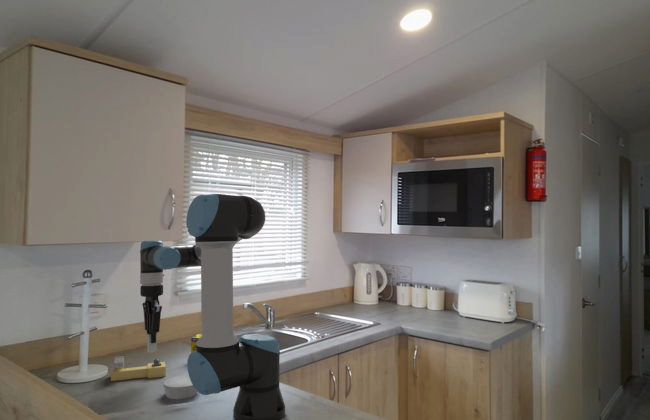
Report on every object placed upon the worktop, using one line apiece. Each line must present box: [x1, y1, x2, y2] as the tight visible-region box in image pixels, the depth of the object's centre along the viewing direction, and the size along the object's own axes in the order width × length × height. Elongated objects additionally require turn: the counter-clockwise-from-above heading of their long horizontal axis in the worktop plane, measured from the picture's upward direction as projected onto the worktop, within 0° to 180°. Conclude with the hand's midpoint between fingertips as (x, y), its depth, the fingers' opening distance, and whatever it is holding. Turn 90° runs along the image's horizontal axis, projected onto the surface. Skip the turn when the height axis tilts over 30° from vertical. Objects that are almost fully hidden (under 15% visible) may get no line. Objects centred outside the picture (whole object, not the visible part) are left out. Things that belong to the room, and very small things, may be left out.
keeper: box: [113, 355, 125, 370], centre depth 163 cm, size 8×3×7 cm, turn 22°
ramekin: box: [163, 374, 199, 400], centre depth 148 cm, size 11×11×5 cm
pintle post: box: [153, 358, 161, 367], centre depth 166 cm, size 2×2×6 cm
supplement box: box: [190, 333, 202, 354], centre depth 183 cm, size 6×6×11 cm
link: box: [110, 361, 167, 382], centre depth 164 cm, size 18×6×3 cm, turn 112°
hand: (152, 352), depth 160 cm, fingers closed
